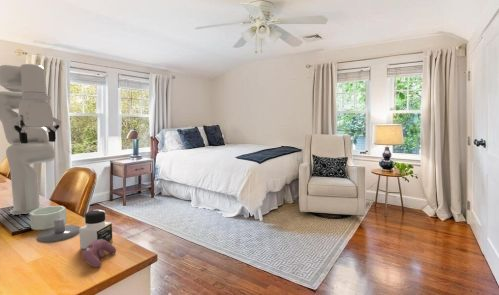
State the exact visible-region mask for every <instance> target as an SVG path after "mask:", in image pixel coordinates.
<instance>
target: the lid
mask: <svg viewBox="0 0 499 295" xmlns="http://www.w3.org/2000/svg"><path fill="white" fill-rule="evenodd" d="M79 228H81V226H79V225H73V224H71V225H70V224H67V225H66V223H65V222H64V218H58V219H55V220H54V228H51V229H47V230H42V231H41V232H40V233H39V234H37V239H38V242H40V243H55V242H60V241H65V240H68V239H72V238H73V237H76V236H78V235H79Z"/></svg>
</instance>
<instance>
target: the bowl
mask: <svg viewBox="0 0 499 295" xmlns="http://www.w3.org/2000/svg"><path fill="white" fill-rule="evenodd" d="M28 215H29V224H30V228H31V230H33V231H45V230H48V229H51V228H54V220H55V219H58V218H64V222H65V224H66V223H67V219H68V218H67V208H66V207H65V206H64V205H50V206H44V207H43V208H38V209H36V210H34V211H32V212H29V214H28Z"/></svg>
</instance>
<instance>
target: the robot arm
mask: <svg viewBox="0 0 499 295" xmlns="http://www.w3.org/2000/svg"><path fill="white" fill-rule="evenodd" d="M0 86H1V87H3V88H4V89H5V90H7V91H5V90H4V91H0V122H1V124H2V129H3V132H4V135H5V138H6V141H7V143H8V144H9V146H8V147H6V151H5V156H6V159H7V162H8V167H9V173H10V183H11V193H12V203H13V208H12V209H10V210H9V212H10V213H12V214H27V213H29V212H32V211H34V210H36V209H38V208H43V207H45V206H44V205H43V204H41V200H40V187H39V174H38V171H37V170H36V169H35V168H34V167H32V166H31V165H33V164H42V163H50V162H52V161H53V160H55V156H56V152H55V148H54V144H53V143H54V142H56V138H57V137H56V132H57V131H58V129H59V128H60V126H61V124H62V120H60V119H58V118H56V117H54V115H53V110H52V107H51V106H52V105H51V104H50V102H49V100H51V96H50V95H48V92H47V78H46V69H45V67H43V66H42V65H40V64H33V63H25V64H21V65H20V66H19V65H11V64H2V65H0ZM14 110H18V112H17V111H14ZM54 123H55V124H54Z"/></svg>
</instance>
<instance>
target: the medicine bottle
mask: <svg viewBox="0 0 499 295" xmlns="http://www.w3.org/2000/svg"><path fill="white" fill-rule="evenodd" d="M84 219H85V220H84V222H85V225H84V226H80V228H79V234H78V235H79V249H83V250H85V249H86V247H87V246H88V245H89V244H90V243H92V242H93V241H96V240H99V239H100V240H101V239H103V240H106V241H107V242H108V243H109V244H111V243H113V240H114V239H113V226H112V225H113V224H112V222H109V221H106V211H105V210H102V209H93V210H90V211H87V212H86V213H85V214H84Z"/></svg>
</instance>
